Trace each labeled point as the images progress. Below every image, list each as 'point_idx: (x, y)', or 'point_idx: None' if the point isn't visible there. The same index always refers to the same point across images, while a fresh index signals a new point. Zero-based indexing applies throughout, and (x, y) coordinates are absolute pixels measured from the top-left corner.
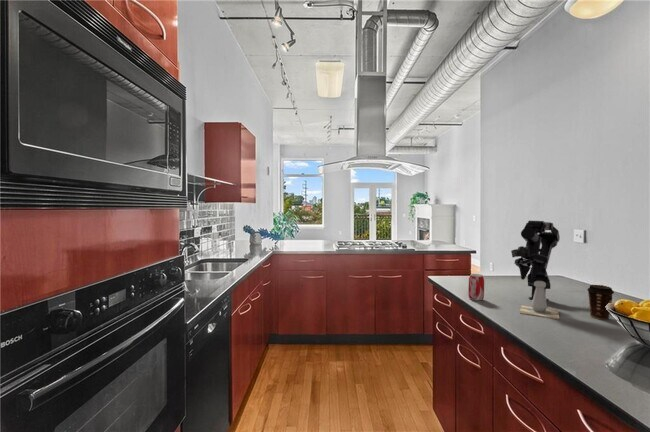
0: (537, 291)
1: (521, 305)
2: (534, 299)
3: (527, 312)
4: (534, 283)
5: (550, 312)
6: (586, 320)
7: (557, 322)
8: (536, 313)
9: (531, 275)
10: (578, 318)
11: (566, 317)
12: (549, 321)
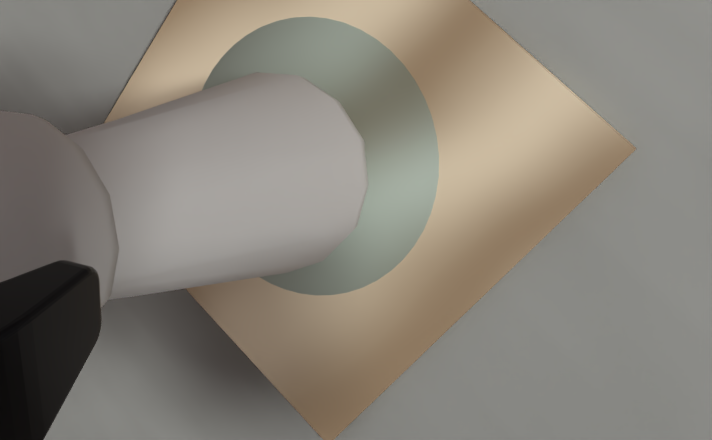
0: (87, 131)
1: (597, 120)
2: (215, 90)
3: None
4: (4, 125)
5: None
6: None
7: (19, 72)
8: (228, 46)
9: (40, 294)
10: (107, 390)
11: (135, 304)
12: (42, 11)
